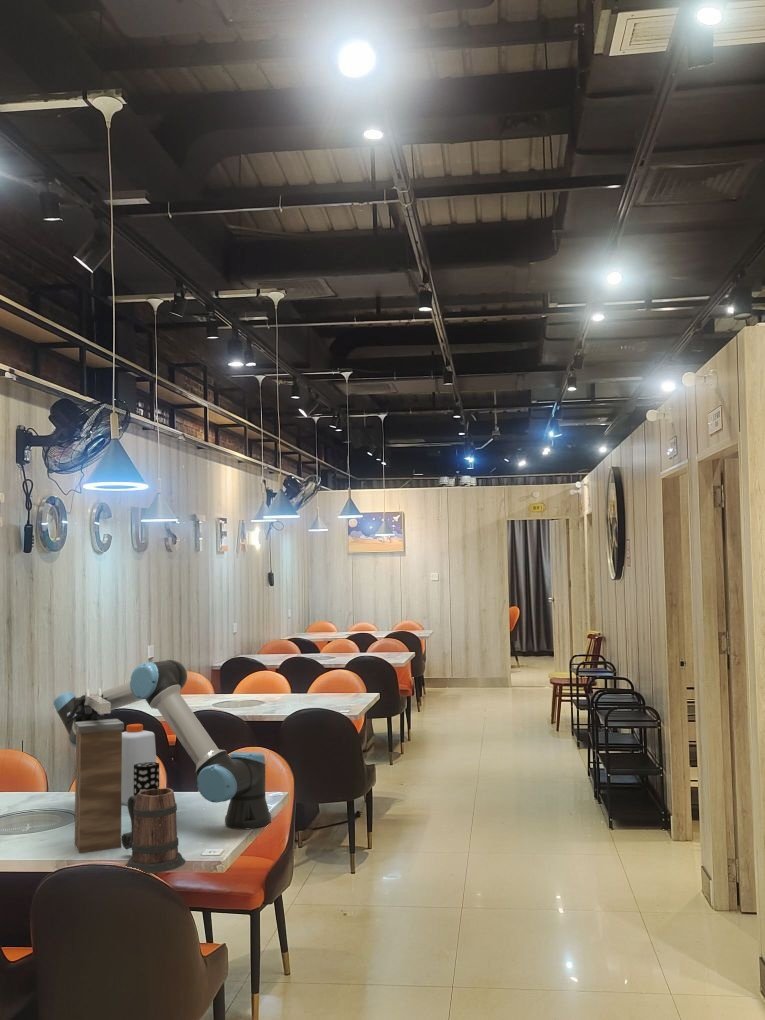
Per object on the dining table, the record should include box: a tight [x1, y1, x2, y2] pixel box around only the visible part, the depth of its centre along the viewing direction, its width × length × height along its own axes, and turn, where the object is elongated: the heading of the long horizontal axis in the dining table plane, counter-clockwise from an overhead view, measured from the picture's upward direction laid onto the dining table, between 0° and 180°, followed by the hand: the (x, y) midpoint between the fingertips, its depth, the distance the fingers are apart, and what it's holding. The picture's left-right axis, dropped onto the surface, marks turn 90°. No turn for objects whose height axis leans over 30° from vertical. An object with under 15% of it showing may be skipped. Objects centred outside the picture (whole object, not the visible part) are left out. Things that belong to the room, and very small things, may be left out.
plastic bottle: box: [121, 723, 157, 806], centre depth 323 cm, size 15×15×28 cm
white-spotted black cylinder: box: [134, 761, 160, 796], centre depth 284 cm, size 8×8×20 cm
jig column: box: [74, 718, 125, 854], centre depth 264 cm, size 13×13×37 cm
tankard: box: [121, 787, 186, 875], centre depth 244 cm, size 24×17×20 cm
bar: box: [87, 693, 112, 714], centre depth 268 cm, size 32×3×3 cm, turn 27°
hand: (94, 692), depth 275 cm, fingers closed on bar, 3 cm apart
